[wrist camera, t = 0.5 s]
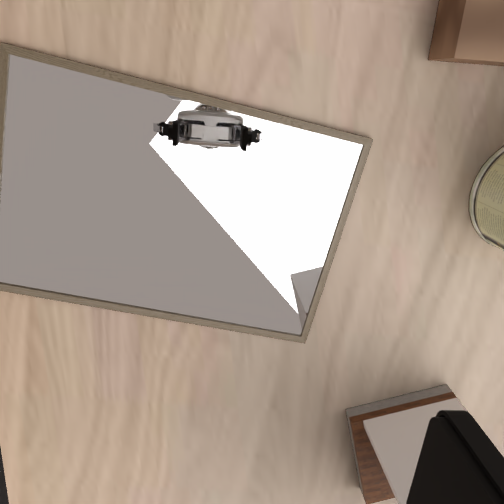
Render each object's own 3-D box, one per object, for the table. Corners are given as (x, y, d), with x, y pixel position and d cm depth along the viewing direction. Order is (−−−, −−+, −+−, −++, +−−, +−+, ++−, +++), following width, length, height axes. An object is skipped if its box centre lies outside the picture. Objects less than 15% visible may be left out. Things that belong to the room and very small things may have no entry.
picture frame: (369, 137, 37) (6, 43, 32) (373, 139, 36) (0, 42, 31) (303, 337, 43) (-9, 283, 39) (305, 343, 42) (-15, 288, 38)
